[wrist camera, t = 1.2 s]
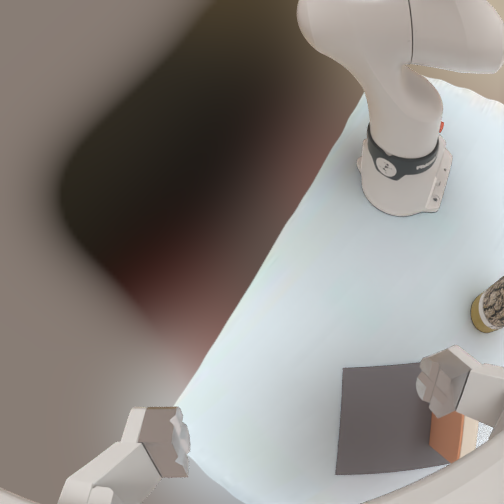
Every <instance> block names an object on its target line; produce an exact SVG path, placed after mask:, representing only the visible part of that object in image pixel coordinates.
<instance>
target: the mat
mask: <svg viewBox="0 0 504 504" xmlns="http://www.w3.org/2000/svg"><path fill="white" fill-rule="evenodd" d="M420 363H421V362H420ZM420 363H410V364H400V365H388V366H375V367H357V368H343V380H342V402H341V419H340V433H339V445H338V455H337V465H336V474H335V475H354V474H375V473H388V472H398V471H406V470H414V469H421V468H427V467H433V466H439V465H444V464H449V463H450V462H449V461H447V460H446V459H445V458H444V457H443V456H442V455H440V454H439V453H438V452H437V451H436V450H434V449H433V448H432V447H431V446H430V445H429V440H430V430H431V418H432V411H431V410H430V409H429V403H428V402H425V401H423V400H422V399H421V398H420V397H419V395H418V393H417V389H416V381H417V377H418V376H419V374H420V373H421V369H420Z"/></svg>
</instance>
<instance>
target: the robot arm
mask: <svg viewBox="0 0 504 504" xmlns="http://www.w3.org/2000/svg"><path fill="white" fill-rule="evenodd" d="M297 20H298V24H299V27H300V30H301V32H302V33H303V35H304V37H305V38H306V40H307V41H308V42H309V43H310V45H312V46H313V47H314V48H315V49H316V50H317V51H318V52H320V53H322V54H324V55H327V56H328V57H330V58H332V59H334V60H335V61H337V62H338V63H340V64H341V65H343V66H344V67H345V68H346V69H347V70H348V71H350V73H352V75H353V76H355V78H356V79H357V80H358V82H359V83H360V84H361V86H362V88H363V90H364V92H365V94H366V98H367V103H368V109H369V118H370V122H369V125H368V130H367V139H364V141H363V149H362V156H361V157H360V158H358V160H357V167H358V169H359V171H360V173H361V183H362V189H363V192H364V194H365V196H366V197H367V199H368V200H369V201H370V202H371V203H372V204H373V205H374V206H375V207H376V208H378V209H379V210H381V211H383V212H385V213H388V214H391V215H395V216H409V215H414V214H417V213H419V212H437V211H438V210H439V207H440V204H441V201H442V197H443V194H444V190H445V187H446V183H447V179H448V175H449V171H450V167H451V163H452V155H451V153H450V152H449V151H448V150H447V149H446V148H445V147H446V142H445V140H444V139H443V137H442V136H441V135H439V133H440V132H441V131H442V129H443V126H444V122H442V121H441V120H442V114H443V103H442V99H441V97H440V95H439V93H438V91H437V90H436V89H435V87H434V86H433V85H432V84H431V83H430V82H429V81H428V80H427V79H426V78H425V77H423V76H422V75H420V74H418V73H417V72H415V71H414V70H412V69H410V68H409V67H407V66H406V65H405V64H416V65H423V66H429V67H435V68H441V69H446V70H451V71H456V72H462V73H484V74H493V73H495V72H497V71H498V70H499V69H500V68H501V67H502V66H503V64H504V23H503V21H502V19H501V17H500V16H499V14H498V13H497V11H496V10H495V9H494V8H493V6H491V4H490V3H488V1H487V0H299V2H298V7H297ZM434 199H435V200H436V201H434ZM420 369H421V373H420V374H419V376H418V377H417V381H416V389H417V393H418V395H419V397H420V398H421V399H422V400H423V401H425V402H428V403H429V409H430V410H431V411H432V412H433V413H434V415H435V416H436V417H437V418H441V417H443V416H445V415H447V414H449V413H451V412H453V411H456V412H458V413H460V414H463V415H465V416H467V417H470V418H472V419H474V420H477V421H479V422H481V423H484V424H486V425H488V426H491V427H493V428H494V429H493V431H492V433H491V434H490V436H489V440H488V441H487V442H485V443H484V444H482V445H481V446H479V447H478V448H476V449H475V450H473V451H471V452H470V453H468V454H467V455H465V456H463V457H462V458H460V459H458V460H456V461H455V462H453V463H451V464H449V465H448V466H446V467H444V468H442V469H440V470H438V471H436V472H434V473H433V474H431V475H429V476H427V477H424V478H422V479H420V480H418V481H416V482H414V483H412V484H409V485H407V486H405V487H403V488H400V489H398V490H395V491H393V492H391V493H388V494H385V495H383V496H380V497H378V498H375V499H372V500H369V501H366V502H363V503H360V504H504V367H500V366H495V365H490V364H486V363H484V364H481V363H480V362H478V361H477V360H476V359H475V358H473V357H472V356H471V355H469V354H468V353H467V352H466V351H464V350H463V349H462V348H461V347H459V346H457V345H453V346H451V347H449V348H446V349H444V350H442V351H439V352H437V353H434V354H432V355H429V356H426V357H424V358H423V359H422V360H421V363H420ZM182 420H183V414H182V411H181V409H180V408H179V407H133V408H132V409H131V411H130V414H129V417H128V420H127V423H126V426H125V430H124V433H123V436H122V439H121V442H116V443H114V444H113V445H112V446H110V447H109V448H108V449H106V450H105V451H104V452H103V453H101V454H100V455H99V456H97V457H96V458H95V459H94V460H92V461H91V462H89V463H88V464H87V465H85V466H84V467H82V468H81V469H80V470H78V471H77V472H76V473H74V474H73V475H71V476H70V477H69V478H67V480H66V482H65V485H64V488H63V490H62V493H61V495H60V498H59V501H58V503H57V504H142V502H143V501H144V500H145V499H146V498H147V496H148V495H149V494H150V493H151V492H152V491H153V489H154V488H155V487H156V486H157V484H158V483H159V482H160V481H161V480H162V478H165V477H167V478H170V477H171V478H172V477H188V473H189V460H188V457H187V454H188V453H189V452H190V435H189V431H188V428H187V425H186V424H185V423H183V422H182ZM0 504H40V503H37V502H34V501H31V500H29V499H26V498H23V497H21V496H19V495H16V494H14V493H11V492H9V491H7V490H5V489H2V488H0Z"/></svg>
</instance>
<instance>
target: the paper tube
mask: <svg viewBox="0 0 504 504" xmlns="http://www.w3.org/2000/svg"><path fill="white" fill-rule="evenodd" d="M471 318H472V321H473V323H474V325H475V327H476V328H477V329H478V330H480V331H481V332H485V333H489V332H492V331H495V330H497V329H500V328H503V327H504V276H503V277H502V278H500V279H499V280H498V281H497V282H495V283H494V284H493V285H492V286H490V287H489V288H488V289H486V290H485V291H484V292H483V293H481V294H480V295H479V296H478V297H477V298H476V299H475V300H474V302H473V304H472V308H471Z"/></svg>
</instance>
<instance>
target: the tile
mask: <svg viewBox="0 0 504 504" xmlns="http://www.w3.org/2000/svg"><path fill="white" fill-rule="evenodd" d="M478 422H479V421H477V420H474V419H472V418H470V417H467V416H465V415H463V414H460V413H458V412H456V411H453V412H451V413H449V414H447V415H445V416H443V417H441V418H437V417H436V416H435V415H434V413H433V412H432V418H431V430H430V440H429V445H430V446H431V447H432V448H433V449H434V450H436V451H437V452H438V453H439V454H440V455H442V456H443V457H444V458H445V459H446V460H447V461H449V462H450V463H453V462H455V461H456V460H458V459H460V458H462V457H463V456H465V455H467V454H468V453H470V452H471V451H473V450H475V447H476V440H477V432H478Z"/></svg>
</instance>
